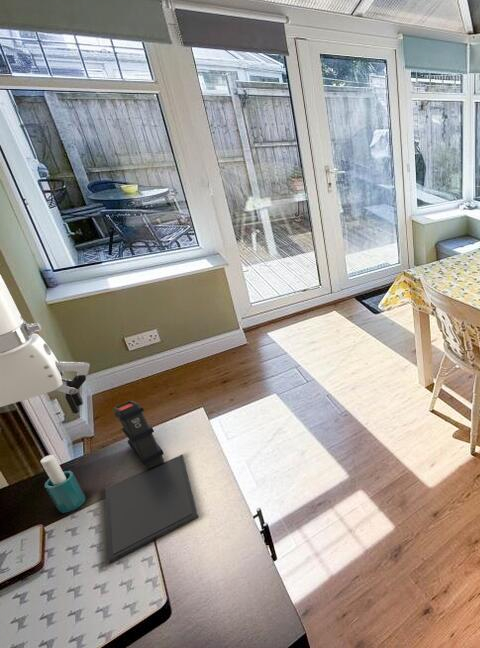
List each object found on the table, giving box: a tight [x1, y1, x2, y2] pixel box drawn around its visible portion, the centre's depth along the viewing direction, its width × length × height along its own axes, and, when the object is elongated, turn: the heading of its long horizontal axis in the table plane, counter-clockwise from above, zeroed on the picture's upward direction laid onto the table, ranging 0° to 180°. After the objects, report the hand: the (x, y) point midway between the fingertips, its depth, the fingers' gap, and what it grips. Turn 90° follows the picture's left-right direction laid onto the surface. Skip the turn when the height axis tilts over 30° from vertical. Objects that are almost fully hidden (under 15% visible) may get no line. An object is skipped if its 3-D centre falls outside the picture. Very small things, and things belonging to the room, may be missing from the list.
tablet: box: [104, 454, 199, 564], centre depth 83 cm, size 13×19×1 cm
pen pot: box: [44, 470, 87, 514], centre depth 81 cm, size 4×4×7 cm
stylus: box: [39, 454, 67, 486], centre depth 80 cm, size 2×2×12 cm
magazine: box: [113, 400, 165, 470], centre depth 92 cm, size 4×13×15 cm, turn 54°
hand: (38, 421), depth 73 cm, fingers open, 9 cm apart
